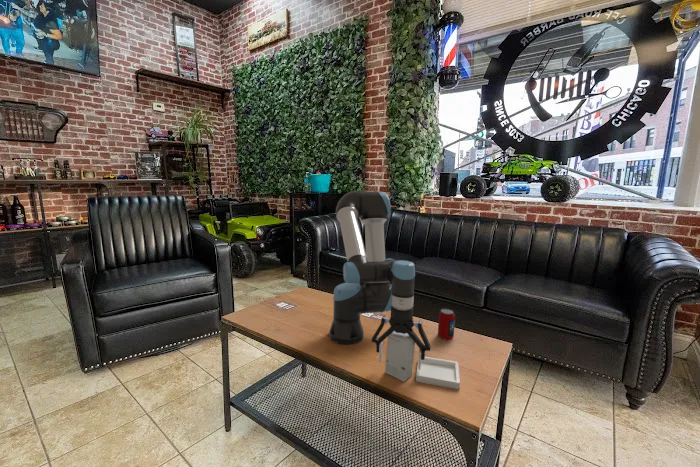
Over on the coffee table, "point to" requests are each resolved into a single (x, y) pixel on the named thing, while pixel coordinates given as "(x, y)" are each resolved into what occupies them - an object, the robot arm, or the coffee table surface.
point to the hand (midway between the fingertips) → (399, 364)
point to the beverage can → (446, 324)
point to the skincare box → (399, 355)
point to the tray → (439, 372)
